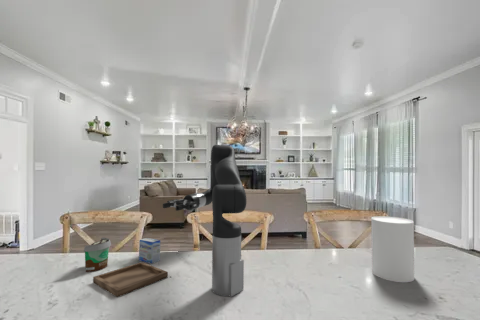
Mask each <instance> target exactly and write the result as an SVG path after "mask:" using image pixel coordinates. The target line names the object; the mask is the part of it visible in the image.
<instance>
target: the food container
mask: <svg viewBox="0 0 480 320" xmlns="http://www.w3.org/2000/svg"><path fill="white" fill-rule="evenodd" d="M111 242H112V241H111V240H110V238H108V237H100V240H98V241H95V242H92V243H91V244H90V245H84V247H83V252H84V265H85V273H92V272H93V273H94V272H98V271H102V270H103V269H106V268H107V267H108V261H109V252H110V251H109V250H110V247H111V246H112V243H111Z"/></svg>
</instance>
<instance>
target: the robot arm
mask: <svg viewBox="0 0 480 320" xmlns="http://www.w3.org/2000/svg"><path fill="white" fill-rule="evenodd" d="M210 173H211V174H210V175H211V177H210V178H211V179H210V180H211V181H210V188H208V189H207V190H205V191H202V192H195V193H191V194H186V195H185V196H184V197H183V198H180V199H178V198H175V199H171V200H167V202H163V203H162V208H163V209H168V208H175V211H178V212H179V211H182V210H184V211H185V210H187V211H192V210H197V209H199V208H202V207H205V206H209V205H211V204H212V205H211V206H212V208H211V209H212V244H211V246H212V247H211V248H212V251H211V254H212V255H211V257H212V259H211V262H212V263H211V267H212V268H211V291H212V292H213V293H214V294H215V295H218V296H225V297H234V296H235V295H237V294H239V293H240V292H242V291H243V290H244V283H245V282H244V277H245V276H244V272H245V269H244V268H245V267H244V263H245V261H244V259H243V258H242V227H241V225H240V224H238V223H236V222H232V221H230V220H229V219H226V218H225V217H224V216H223V215H224V214H227V215H228V214H239V213H243V212H244V211H245V210H246V207H247V202H248V201H247V195H246V190H245V187H244V185H243V183H242V181H241V178H240V172H239V168H238V165H237V162H236V153H235V149H234V147H233V146H231V145H227V144H226V145H222V144H214V145H213V146H212V147H211V150H210Z"/></svg>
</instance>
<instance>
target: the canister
mask: <svg viewBox="0 0 480 320" xmlns="http://www.w3.org/2000/svg"><path fill="white" fill-rule="evenodd" d="M370 218H371V221H370V222H371V225H370V226H371V273H372V274H373V275H374V276H376V277H378V278H381V279H383V280H387V281H389V282H390V281H391V282H396V283H409V282H413V281H415V232H414V231H415V230H414V228H415V226H414V225H415V223H414V220H412V219H410V218H403V217H397V216H388V215H387V216H386V215H385V216H383V215H380V216H379V215H377V216H372V217H370Z"/></svg>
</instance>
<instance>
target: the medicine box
mask: <svg viewBox="0 0 480 320" xmlns="http://www.w3.org/2000/svg"><path fill="white" fill-rule="evenodd" d="M138 241H139V243H138V245H139V248H138V249H139V250H138V261H139V262H144V263H146V264H148V263H149V264H155V263H158V262H159V261H161V239H156V238H150V237H145V238H141V239H139V240H138Z"/></svg>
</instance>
